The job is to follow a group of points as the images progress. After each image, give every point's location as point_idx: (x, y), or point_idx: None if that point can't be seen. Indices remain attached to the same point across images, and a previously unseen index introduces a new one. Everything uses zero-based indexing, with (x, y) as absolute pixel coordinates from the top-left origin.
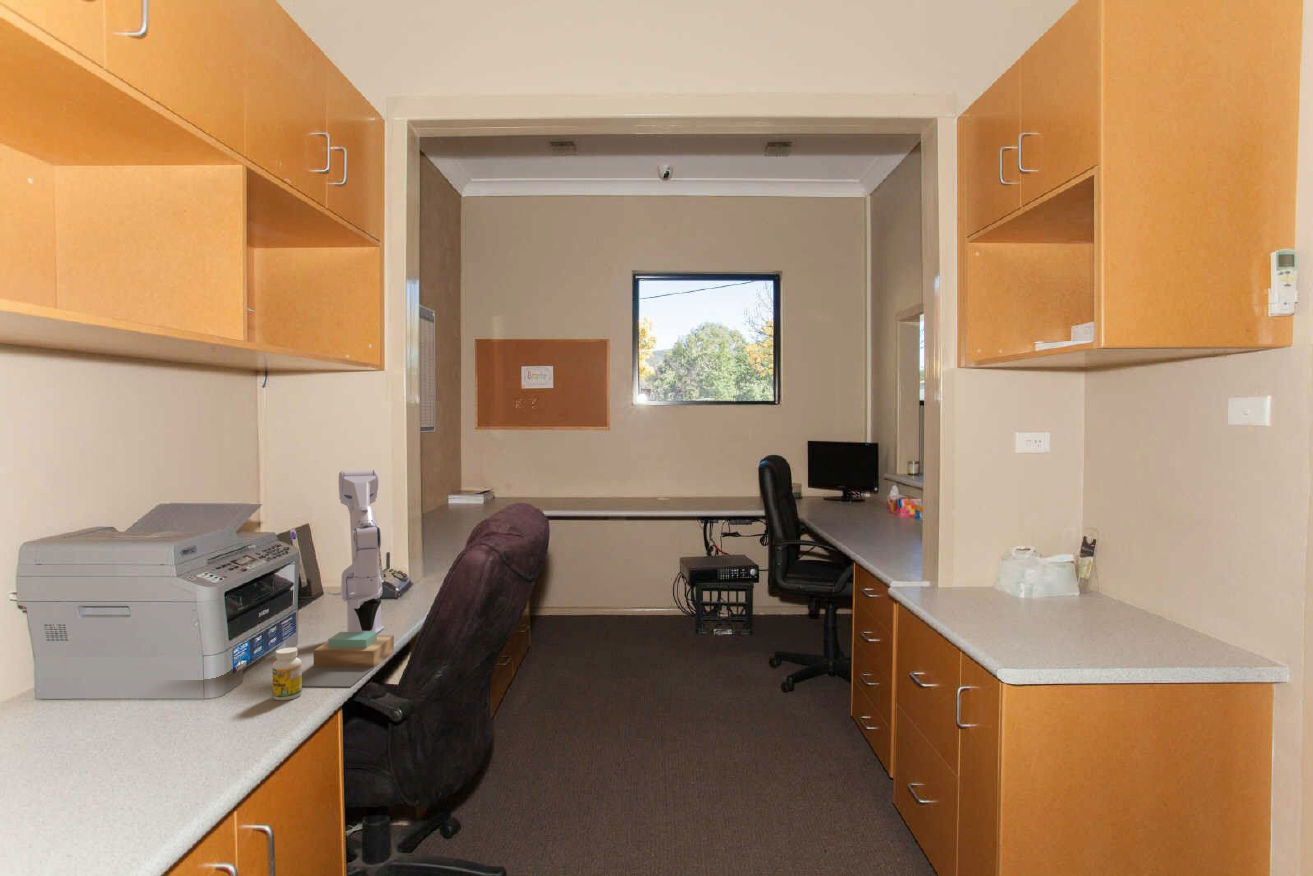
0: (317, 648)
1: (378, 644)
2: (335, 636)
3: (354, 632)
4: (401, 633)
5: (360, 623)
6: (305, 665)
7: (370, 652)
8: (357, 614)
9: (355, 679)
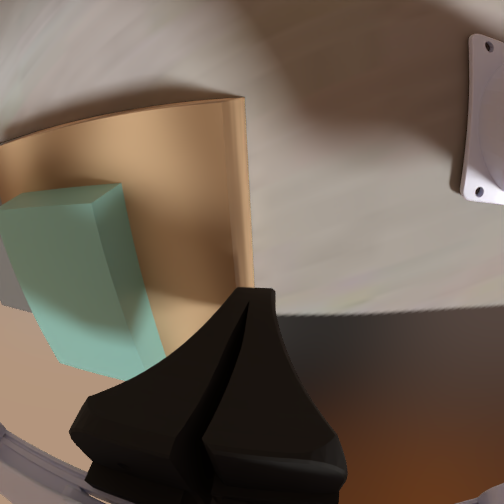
0: (5, 148)
1: None
2: (26, 223)
3: (108, 297)
4: (498, 298)
5: (213, 317)
6: (52, 79)
7: None
8: (158, 365)
9: (23, 304)
